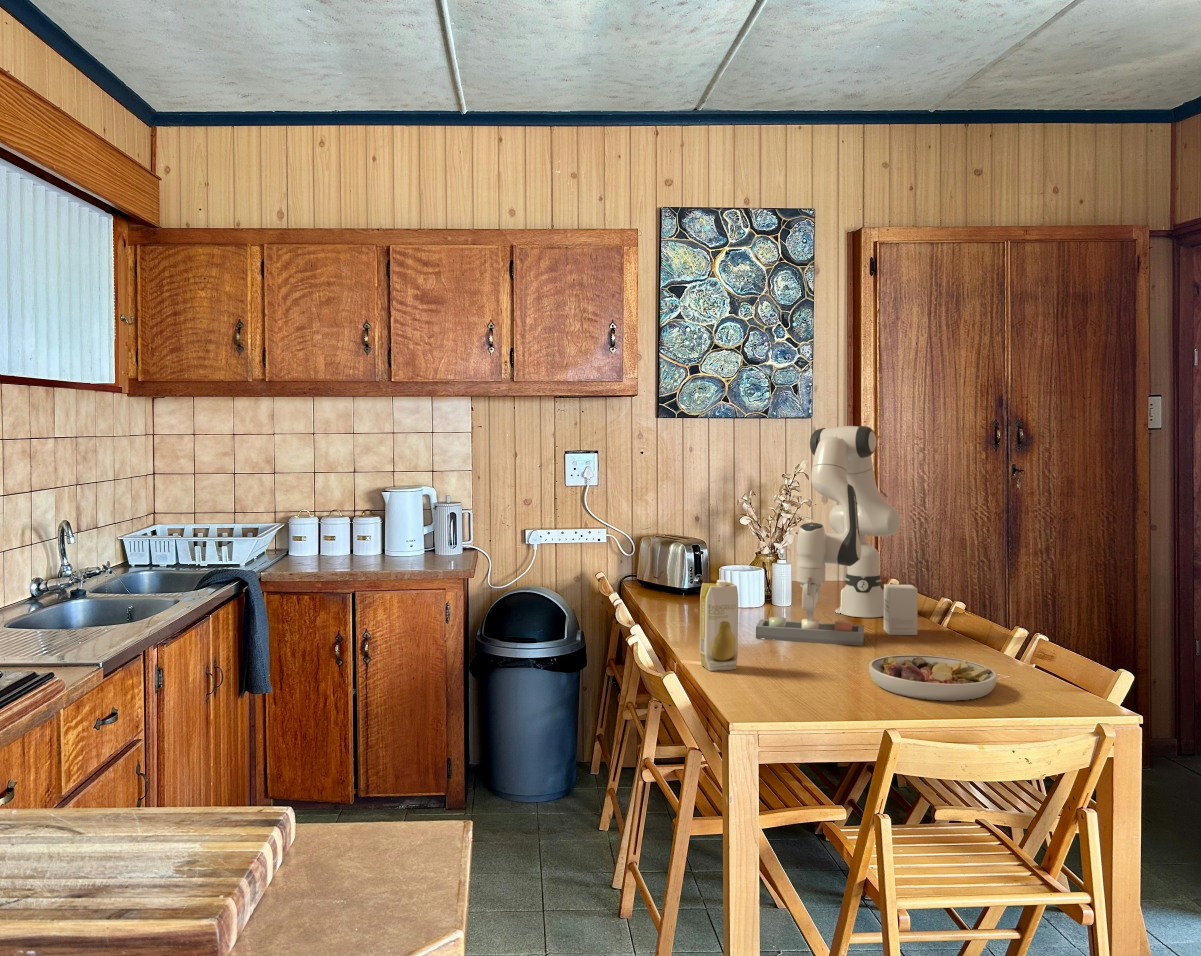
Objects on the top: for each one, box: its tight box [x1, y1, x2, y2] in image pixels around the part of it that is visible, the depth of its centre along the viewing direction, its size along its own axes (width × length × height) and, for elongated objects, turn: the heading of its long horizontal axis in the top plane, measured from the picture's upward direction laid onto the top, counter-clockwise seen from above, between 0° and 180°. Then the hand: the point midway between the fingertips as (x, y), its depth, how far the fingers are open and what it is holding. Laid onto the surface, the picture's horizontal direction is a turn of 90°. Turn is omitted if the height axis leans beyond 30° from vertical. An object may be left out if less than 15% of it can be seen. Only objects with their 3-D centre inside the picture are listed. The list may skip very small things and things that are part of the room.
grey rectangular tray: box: [755, 618, 865, 647], centre depth 291 cm, size 12×32×4 cm, turn 74°
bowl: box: [868, 654, 997, 702], centre depth 235 cm, size 30×30×8 cm
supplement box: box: [883, 583, 919, 636], centre depth 300 cm, size 9×9×15 cm
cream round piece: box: [801, 618, 820, 629], centre depth 291 cm, size 5×5×4 cm
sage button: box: [768, 616, 787, 627], centre depth 294 cm, size 5×5×4 cm
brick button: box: [834, 620, 853, 631], centre depth 288 cm, size 5×5×4 cm
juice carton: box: [699, 579, 739, 672], centre depth 252 cm, size 9×8×24 cm
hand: (810, 620), depth 291 cm, fingers closed, pressing on cream round piece
